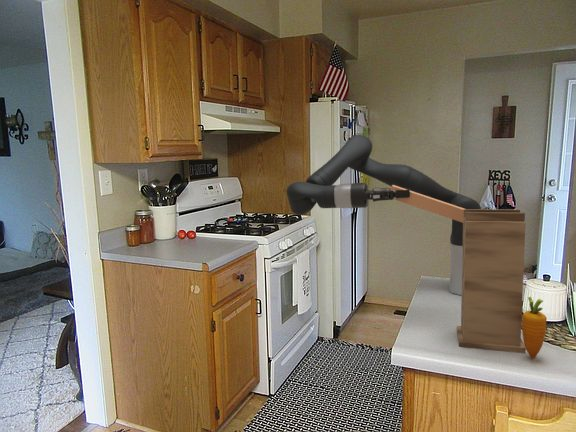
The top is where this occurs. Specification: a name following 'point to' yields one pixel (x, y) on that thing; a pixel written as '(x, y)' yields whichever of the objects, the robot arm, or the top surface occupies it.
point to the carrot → (533, 328)
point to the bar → (432, 205)
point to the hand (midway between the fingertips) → (409, 192)
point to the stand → (492, 279)
